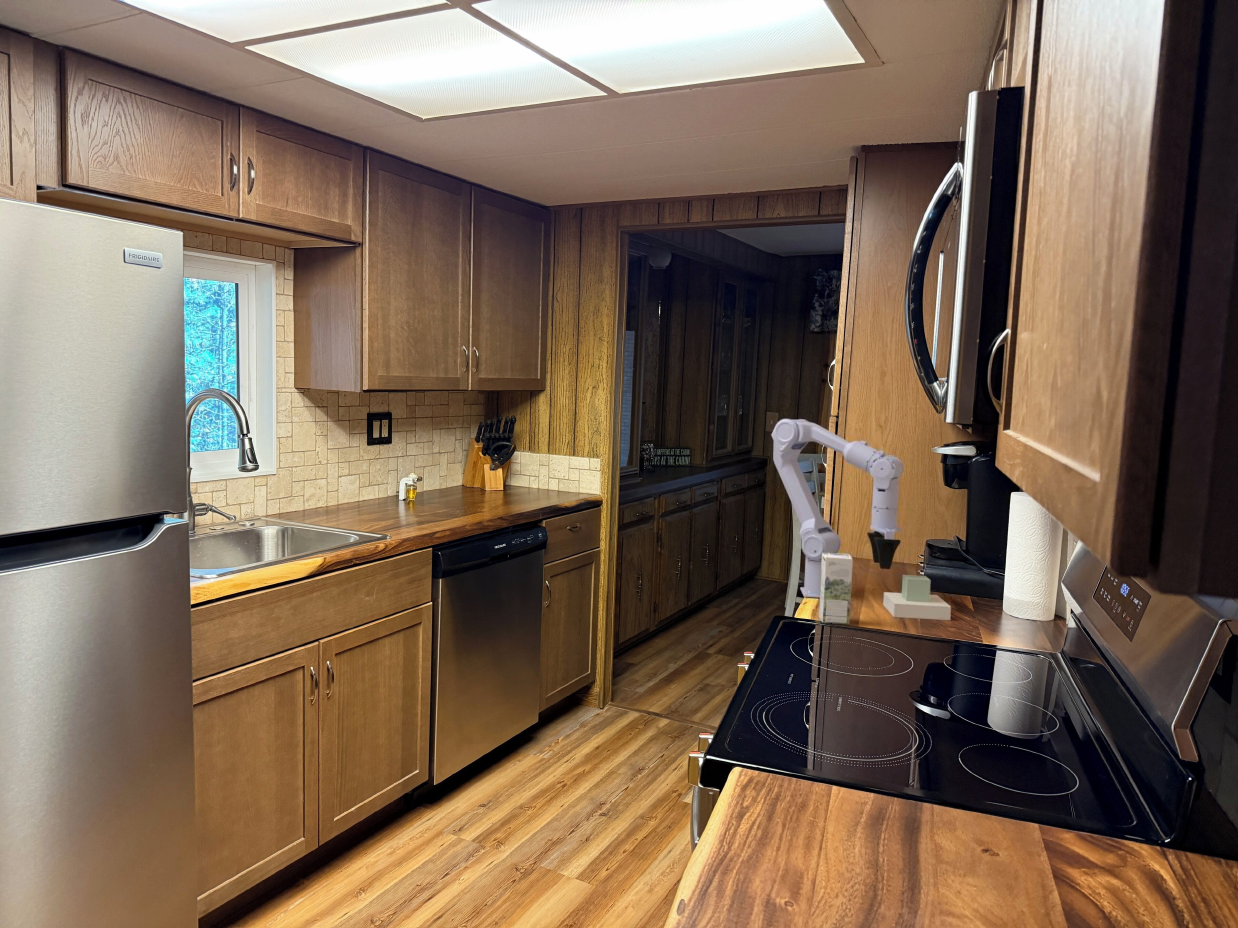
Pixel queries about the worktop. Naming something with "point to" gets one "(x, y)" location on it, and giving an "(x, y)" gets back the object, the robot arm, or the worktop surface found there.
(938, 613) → the base block
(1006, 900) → the worktop surface
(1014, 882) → the worktop surface
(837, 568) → the syrup box
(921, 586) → the green cube
